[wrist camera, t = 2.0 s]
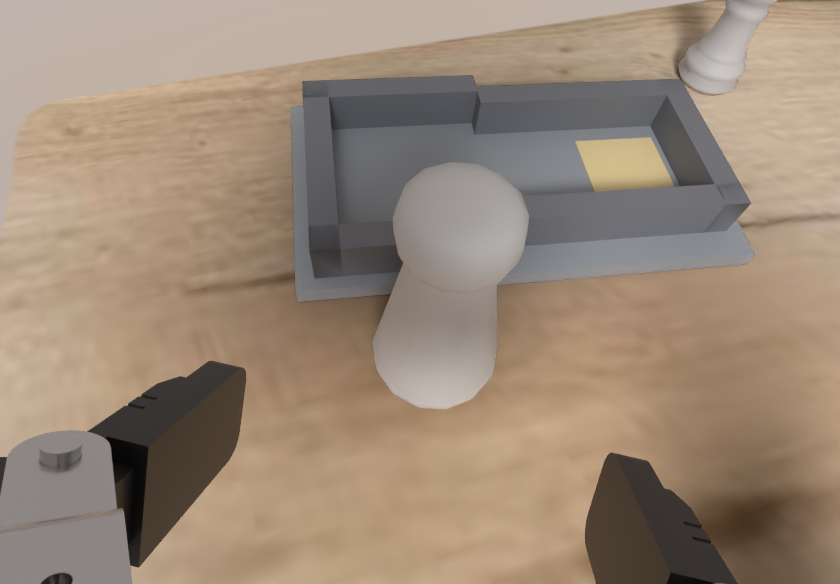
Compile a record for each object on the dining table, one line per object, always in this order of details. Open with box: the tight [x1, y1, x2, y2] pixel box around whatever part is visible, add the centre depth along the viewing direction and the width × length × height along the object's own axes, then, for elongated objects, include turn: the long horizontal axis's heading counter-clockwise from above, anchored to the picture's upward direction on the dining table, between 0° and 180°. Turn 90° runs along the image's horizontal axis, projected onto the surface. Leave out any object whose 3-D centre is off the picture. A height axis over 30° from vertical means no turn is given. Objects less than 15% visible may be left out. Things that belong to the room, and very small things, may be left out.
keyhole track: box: [291, 75, 755, 302], centre depth 33 cm, size 26×14×4 cm, turn 98°
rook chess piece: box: [678, 0, 778, 95], centre depth 38 cm, size 4×4×8 cm
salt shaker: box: [372, 162, 529, 410], centre depth 22 cm, size 6×6×13 cm
